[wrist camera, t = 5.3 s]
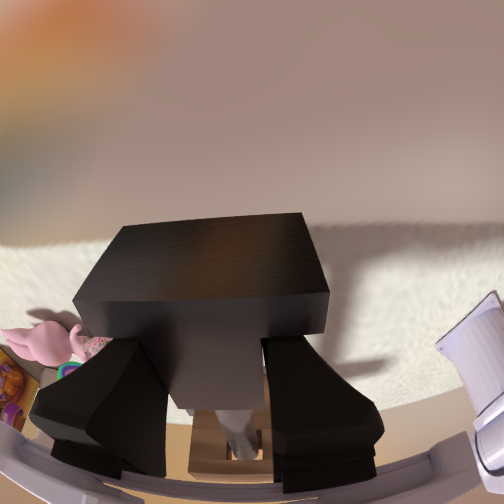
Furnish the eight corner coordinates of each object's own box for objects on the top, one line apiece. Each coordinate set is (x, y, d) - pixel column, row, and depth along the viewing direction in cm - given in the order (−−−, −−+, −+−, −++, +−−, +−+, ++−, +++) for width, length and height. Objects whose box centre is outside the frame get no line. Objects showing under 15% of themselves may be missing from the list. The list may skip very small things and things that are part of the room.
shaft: (289, 421, 20) (293, 470, 16) (203, 423, 20) (199, 471, 17) (301, 212, 11) (330, 292, 7) (123, 226, 11) (71, 300, 7)
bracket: (290, 388, 24) (299, 478, 17) (205, 391, 25) (197, 479, 17) (291, 371, 23) (302, 471, 15) (198, 375, 23) (187, 472, 15)
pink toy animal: (136, 306, 21) (-4, 299, 18) (127, 368, 16) (-28, 346, 13) (148, 354, 24) (21, 344, 22) (145, 409, 20) (5, 388, 17)
